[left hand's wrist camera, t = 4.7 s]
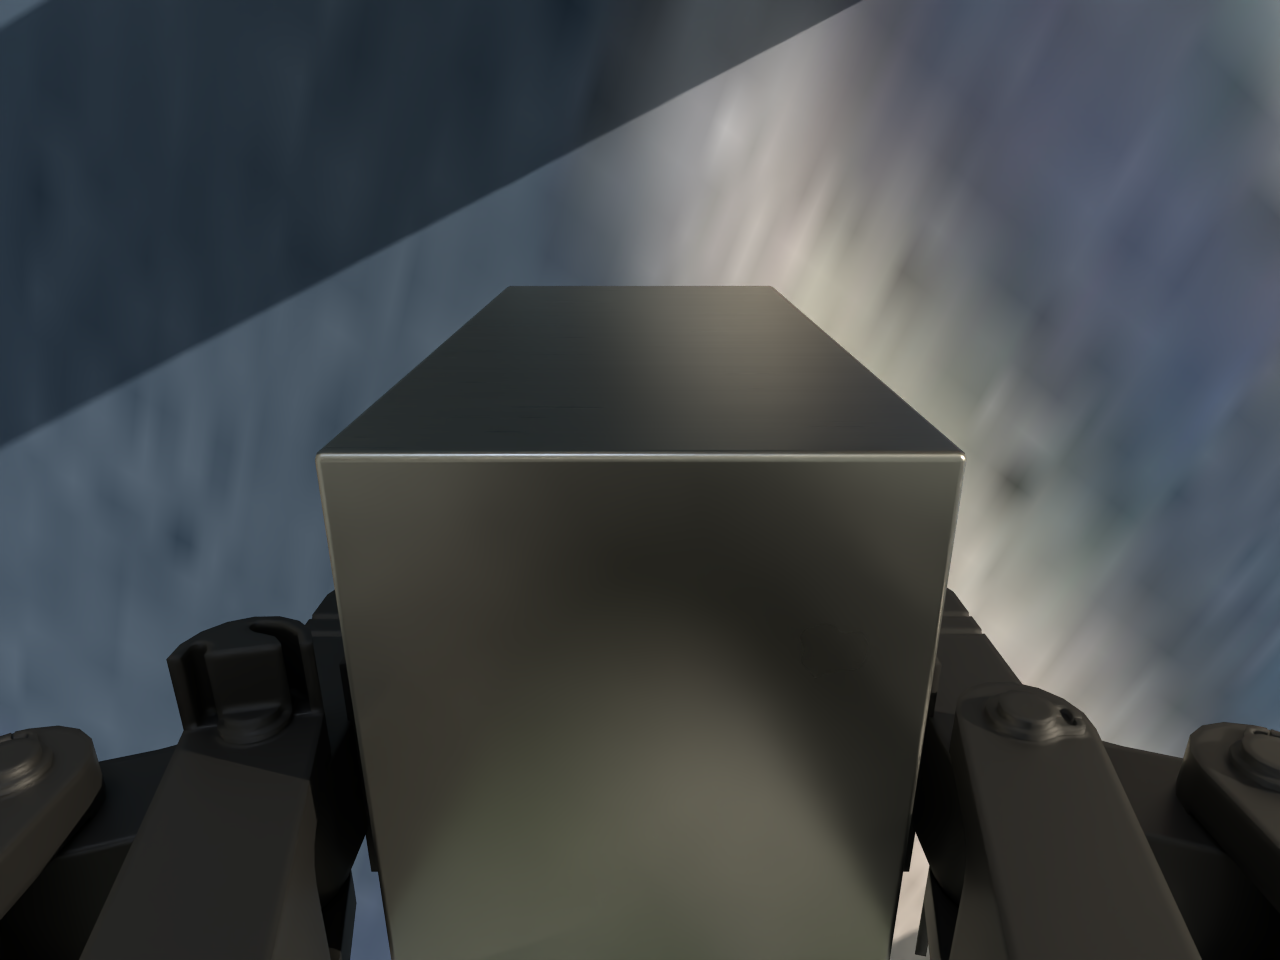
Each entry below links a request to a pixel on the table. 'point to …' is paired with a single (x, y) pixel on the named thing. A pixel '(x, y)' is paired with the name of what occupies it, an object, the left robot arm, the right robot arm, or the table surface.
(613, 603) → the bar
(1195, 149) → the table surface
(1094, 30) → the table surface
